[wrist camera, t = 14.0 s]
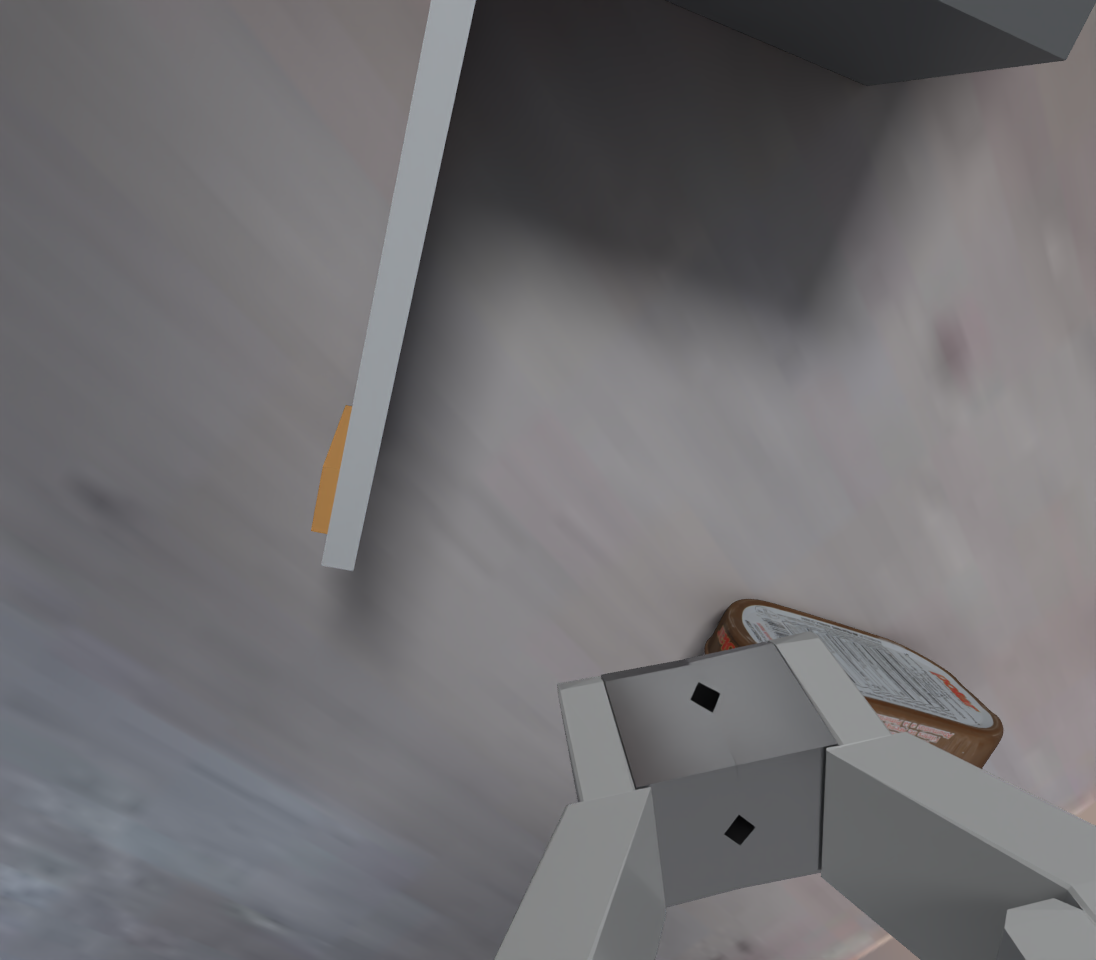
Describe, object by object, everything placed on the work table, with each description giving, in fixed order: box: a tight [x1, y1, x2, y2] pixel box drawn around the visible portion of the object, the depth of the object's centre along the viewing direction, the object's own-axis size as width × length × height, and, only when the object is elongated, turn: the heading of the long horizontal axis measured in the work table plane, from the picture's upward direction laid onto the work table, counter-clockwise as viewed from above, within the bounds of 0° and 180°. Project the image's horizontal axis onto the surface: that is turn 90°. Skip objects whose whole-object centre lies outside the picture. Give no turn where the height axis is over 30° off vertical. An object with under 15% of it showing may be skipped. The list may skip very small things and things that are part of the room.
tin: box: [705, 599, 1003, 769], centre depth 36 cm, size 15×3×8 cm, turn 67°
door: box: [311, 0, 476, 571], centre depth 24 cm, size 2×18×9 cm, turn 164°
